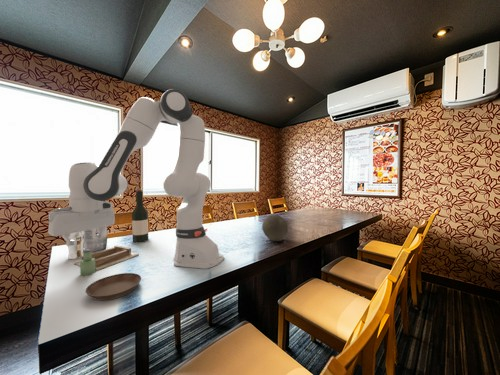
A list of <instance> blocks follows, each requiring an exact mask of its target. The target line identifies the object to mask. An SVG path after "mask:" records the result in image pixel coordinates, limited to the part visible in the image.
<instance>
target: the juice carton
mask: <svg viewBox="0 0 500 375" xmlns="http://www.w3.org/2000/svg"><path fill="white" fill-rule="evenodd" d="M104 202H106V200H105V201H104ZM99 230H100V229H98V228H96V229H91V230H86V231H85V242H84V250H88V249H91V251H92V253H93V252H94V253H95V252H99V251H103V250H107V244H108V226H106V227H105V230H104V232H103V234H102V238H100V239H96V234H98V232H99ZM102 249H103V250H102Z"/></svg>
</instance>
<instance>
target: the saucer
mask: <svg viewBox="0 0 500 375" xmlns="http://www.w3.org/2000/svg"><path fill="white" fill-rule="evenodd" d="M141 280H142V277H141V275H140V274H137V273H133V272H124V273H118V274H117V273H116V274H112V275H109V276H105V277H103V278H100V279H98V280H95V281H93V282H92V283H90V284H89V285H88V286H87V287H86V289H85V294H86V295H87V296H89V297H90V298H92V299H94V300H98V301H109V300H114V299H118V298H120V297H121V298H122V297H124V296H125V295H126V296H127V294H129V293H131V292H132V291H133V290H135V289H136V287H137V286H139V284H140V282H141Z"/></svg>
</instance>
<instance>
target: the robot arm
mask: <svg viewBox="0 0 500 375" xmlns="http://www.w3.org/2000/svg"><path fill="white" fill-rule="evenodd" d="M160 123H164V124H169V125H173V126H174V125H175V126H176V125H177V126H178V129H179V136H178V149H177V157H176V160H175V163H174V166H173V168H172V170H171V171H170V172H169V173H168V174H167V175H166V176H165V177H164V180H163V183H162V184H163V189H164V190H163V191H165V193H166V194H167V195H168V196H170V197H175V198H182V201H181V204H180V205H179V207H178V208H177V209H176V227H175V236H176V243H175V252H174V253H175V254H174V256H173V266H176V267H183V268H184V267H186V268H194V269H202V270H203V269H204V270H205V269H207V270H208V269H210V268H212V267H215V266H217V265H220V263H221V262H223V260H224V259H225V255H224V254H221V253H220V251H219V247H218V245H217V243H215V241H213V240H212V239H211V238H210V237H208V235H206V234H207V233H206V232H207V231H208V228H206V229H205V227H204V225H203V208H204V204H205V199H206V195H207V193H208V192H209V191H210V189H211V180H210V179H209V177H208V176H207V175H206V174H204V173H201V172H198V169H199V166H200V165H201V163H202V162H203V161H204V158H205V146H206V128H205V121H204V120H203V119H202V118H201V116H198V115H195V114H194V110H193V107H192V106H191V103H190V101H189V99H188V97H187V95H186V94H185V92H183V91H181V90H180V89H176V88H170V89H168V90H166V91H165V92H164V93H163V94H162V95H161V97H160V100H154V99H152V98H150V97H145V96H142V97H139V98H138V99H137V100H136V101H135V102H134V103H133V105H132V106H131V108H130V109H129V111H128V112H127V114H126V116H125V118H124V120H123V121H122V124H121V126H120V129H119V131H118V133H117V135H116V136H115V139H114V140H113V142H112V144H111V145H110V147H109V149H108V150H107V152H106V153H105V155H104V156H103V159H102V160H101V162H100V164H97V163H96V162H78V163H74V164H73V165H71V166H70V168H69V173H68V188H69V191H70V193H69V197H68V207H61V208H60V207H59V208H54V209H52V210H50V211H49V212H48V230H47V232H48V234H49V235H50V236H52V237H59V236H61V237H62V239H64V241H66V242H65V244H66V246H67V247H68V246H71V245H74V240H70V239H69V238H68V237H70V233H75V232H80V231H86V230H91V229H96V228H98V229H100V230H99V232H98V234H96V239H100V238H102V234H103V232H104V230H105V227H106V226H107V227H110V226H113V225H114V224H115V223H116V218H115V217H116V216H115V210H114V209H113V208H114V203H112V202H107V201H108V200H111V199H112V198H114V197H118V196H120V195H122V194H124V193H125V192H126V191H127V189H128V186H129V184H128V180H127V178H126V177H125V176H124V175H123V174H121V172H122V171H123V169H124V167H125V166H126V164H127V162H128V161H129V160H128V159H129V158H130V156H131V155H132V154H133V153H134V152H135V151H136V150H138V149H140V148H144V147H146V146H147V145H148V144H149V142H150V141H151V139H152V138H153V136H154V135H155V132H156V131H157V130H156V129H158V126H159V124H160ZM104 201H105V202H104Z"/></svg>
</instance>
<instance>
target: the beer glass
mask: <svg viewBox="0 0 500 375" xmlns="http://www.w3.org/2000/svg"><path fill="white" fill-rule="evenodd" d="M68 238H69V239H70V240H74V245H71V246H67V248H68V255H67V259H68V260H77V259H78V260H79V259H82V257H83V251H84V250H85V249H84V242H85V231H80V232H75V233H70V237H68Z"/></svg>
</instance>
